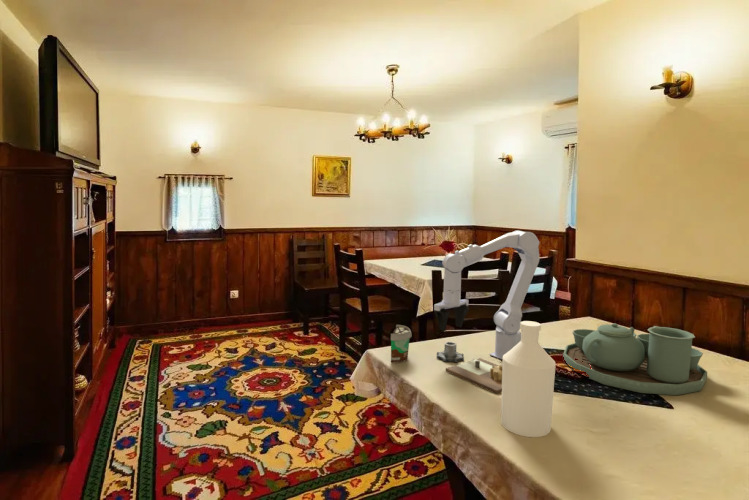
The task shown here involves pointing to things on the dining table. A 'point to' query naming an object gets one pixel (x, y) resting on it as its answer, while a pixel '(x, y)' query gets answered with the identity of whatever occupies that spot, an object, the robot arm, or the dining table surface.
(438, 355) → the planet gear
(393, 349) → the food container
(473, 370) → the carrier board
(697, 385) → the tea set
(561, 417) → the dining table surface
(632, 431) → the dining table surface
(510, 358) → the bottle
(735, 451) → the dining table surface
